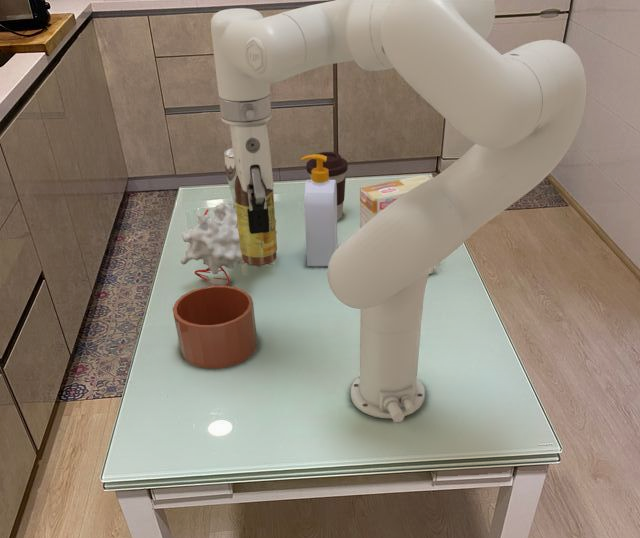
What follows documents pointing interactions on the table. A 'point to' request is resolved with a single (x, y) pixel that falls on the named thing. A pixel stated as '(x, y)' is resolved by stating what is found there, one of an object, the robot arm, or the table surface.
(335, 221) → the soap bottle
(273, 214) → the sauce bottle
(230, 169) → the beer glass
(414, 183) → the coffeecake box
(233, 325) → the crock
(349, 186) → the table surface
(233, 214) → the lumpy white molecule
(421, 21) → the robot arm
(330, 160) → the coffee cup
